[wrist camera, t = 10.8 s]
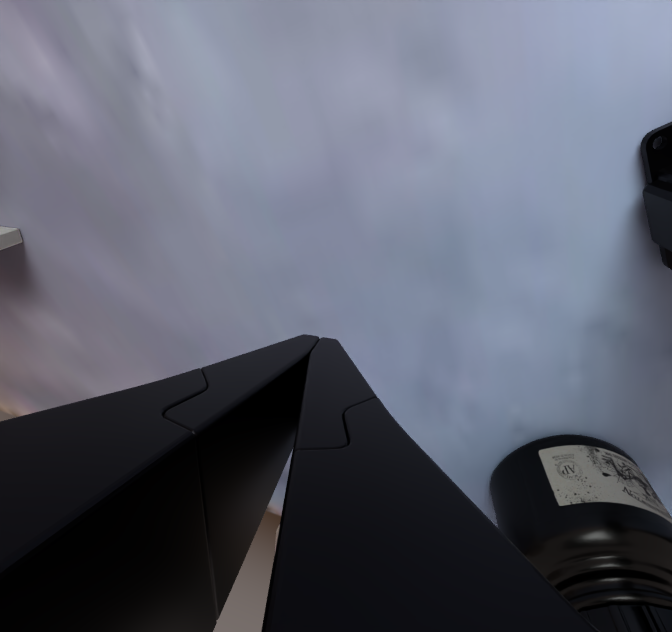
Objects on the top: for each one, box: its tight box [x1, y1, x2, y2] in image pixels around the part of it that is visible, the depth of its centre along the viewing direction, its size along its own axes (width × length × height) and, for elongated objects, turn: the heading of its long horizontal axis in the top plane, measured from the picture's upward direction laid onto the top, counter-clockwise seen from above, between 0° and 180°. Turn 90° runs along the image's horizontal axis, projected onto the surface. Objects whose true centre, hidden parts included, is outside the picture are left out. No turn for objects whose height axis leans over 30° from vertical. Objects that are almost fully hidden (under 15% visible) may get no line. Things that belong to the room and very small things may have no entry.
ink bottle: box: [490, 435, 672, 632], centre depth 21 cm, size 10×9×12 cm
